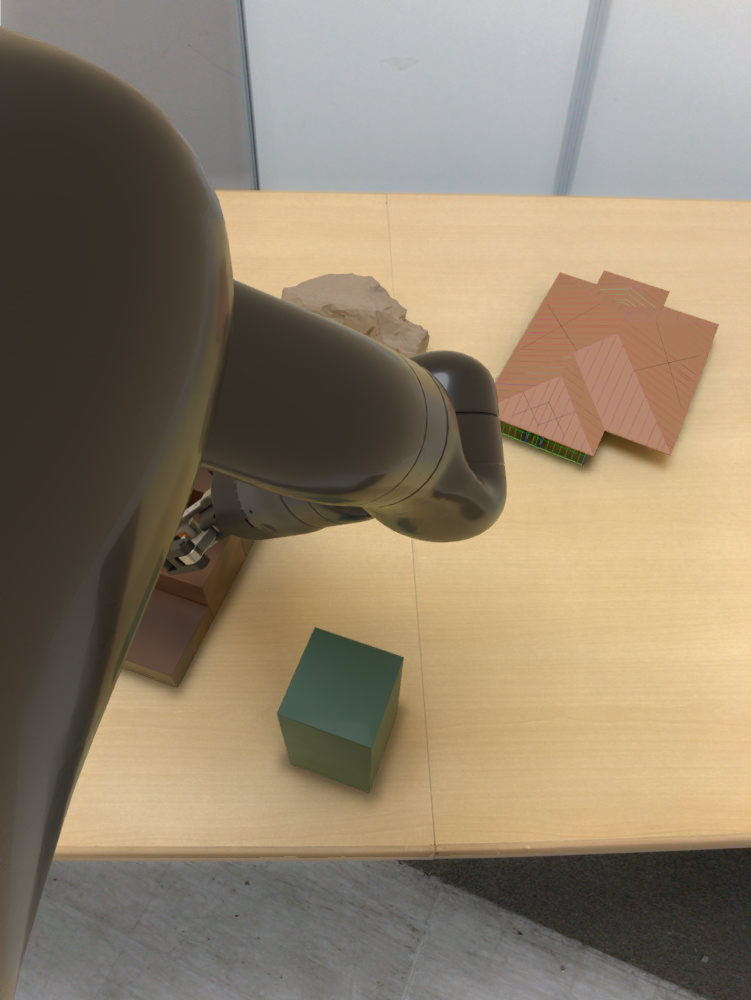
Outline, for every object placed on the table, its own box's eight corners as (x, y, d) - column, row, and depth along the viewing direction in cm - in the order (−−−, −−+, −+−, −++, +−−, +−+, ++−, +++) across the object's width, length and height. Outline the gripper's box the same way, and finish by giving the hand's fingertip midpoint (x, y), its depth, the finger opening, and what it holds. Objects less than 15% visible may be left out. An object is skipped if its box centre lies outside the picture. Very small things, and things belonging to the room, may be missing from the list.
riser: (177, 687, 74) (151, 642, 65) (64, 646, 76) (24, 597, 67) (275, 502, 87) (265, 442, 78) (176, 471, 89) (155, 410, 80)
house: (714, 330, 105) (738, 283, 98) (651, 498, 88) (675, 456, 82) (561, 279, 111) (574, 232, 104) (474, 428, 94) (483, 383, 87)
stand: (369, 793, 69) (371, 748, 57) (290, 763, 70) (276, 714, 58) (397, 713, 73) (404, 656, 61) (321, 686, 74) (314, 626, 63)
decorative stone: (276, 340, 102) (269, 281, 94) (301, 307, 106) (296, 248, 98) (411, 385, 98) (416, 327, 90) (432, 348, 102) (438, 290, 94)
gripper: (303, 385, 56) (206, 425, 69) (188, 521, 49) (103, 539, 62) (363, 455, 59) (260, 482, 72) (263, 593, 52) (168, 596, 65)
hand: (188, 508), depth 67 cm, fingers open, 8 cm apart
